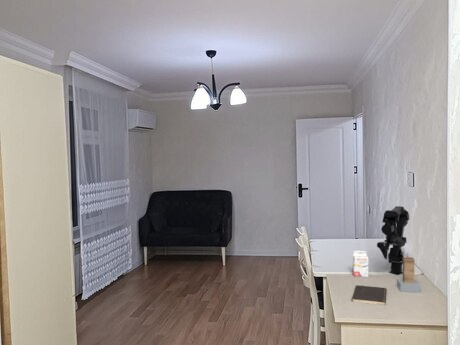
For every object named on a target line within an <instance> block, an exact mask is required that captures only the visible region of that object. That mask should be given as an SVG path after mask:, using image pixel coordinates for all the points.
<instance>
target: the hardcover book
mask: <svg viewBox="0 0 460 345" xmlns="http://www.w3.org/2000/svg"><path fill="white" fill-rule="evenodd" d="M353 290H354V291H353V295H352V297H351V299H352V302H353V301H356V302H357V303H363V302H364V304H365V303H366V304H372V303H374V304H375V305H384V306H386V303H387V302H386V301H387V291H388V290H387V288H386V287H377V286H370V285H369V286H368V285H367V286H366V285H355V288H354V289H353Z"/></svg>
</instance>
